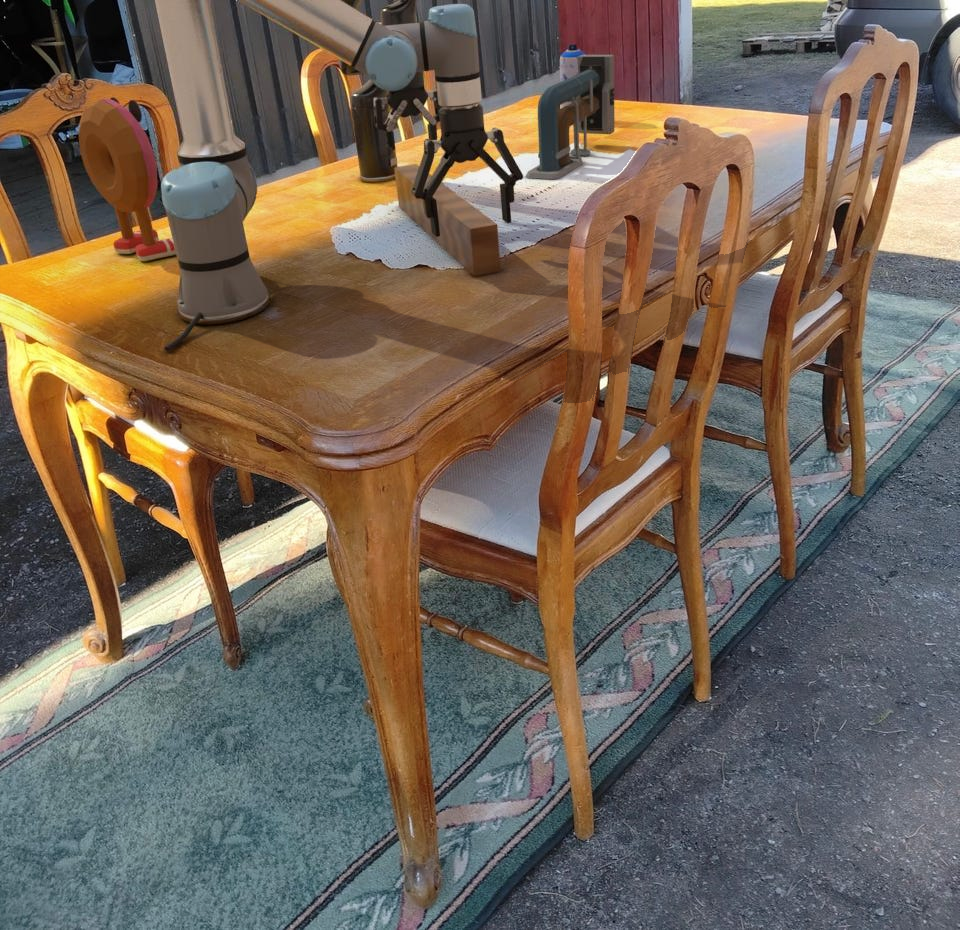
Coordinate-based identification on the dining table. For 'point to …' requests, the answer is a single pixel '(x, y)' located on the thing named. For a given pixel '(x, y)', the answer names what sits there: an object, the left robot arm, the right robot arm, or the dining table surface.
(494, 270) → the beam
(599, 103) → the clamp
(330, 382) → the dining table surface
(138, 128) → the toy
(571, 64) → the aerosol can
